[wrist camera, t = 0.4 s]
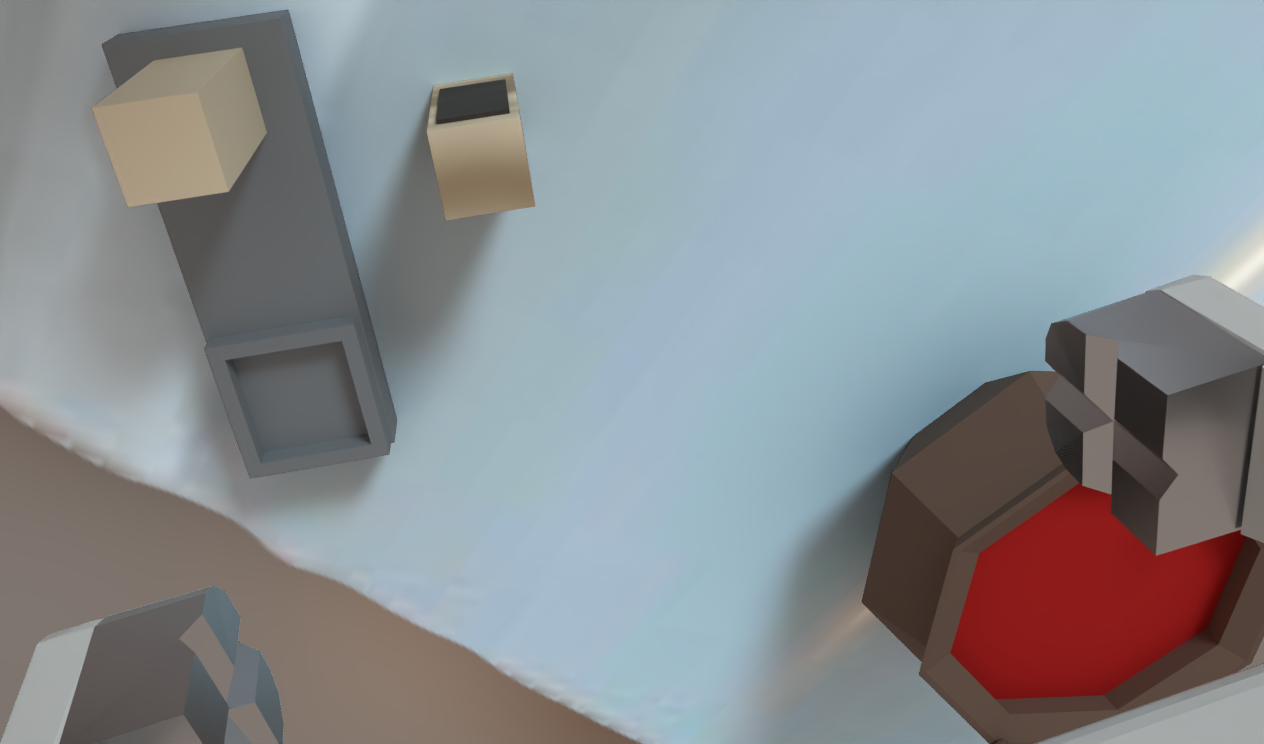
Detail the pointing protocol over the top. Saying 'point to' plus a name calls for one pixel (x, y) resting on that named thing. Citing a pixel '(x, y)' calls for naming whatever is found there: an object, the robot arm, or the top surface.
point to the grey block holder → (253, 233)
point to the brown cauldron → (1045, 579)
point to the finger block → (479, 147)
